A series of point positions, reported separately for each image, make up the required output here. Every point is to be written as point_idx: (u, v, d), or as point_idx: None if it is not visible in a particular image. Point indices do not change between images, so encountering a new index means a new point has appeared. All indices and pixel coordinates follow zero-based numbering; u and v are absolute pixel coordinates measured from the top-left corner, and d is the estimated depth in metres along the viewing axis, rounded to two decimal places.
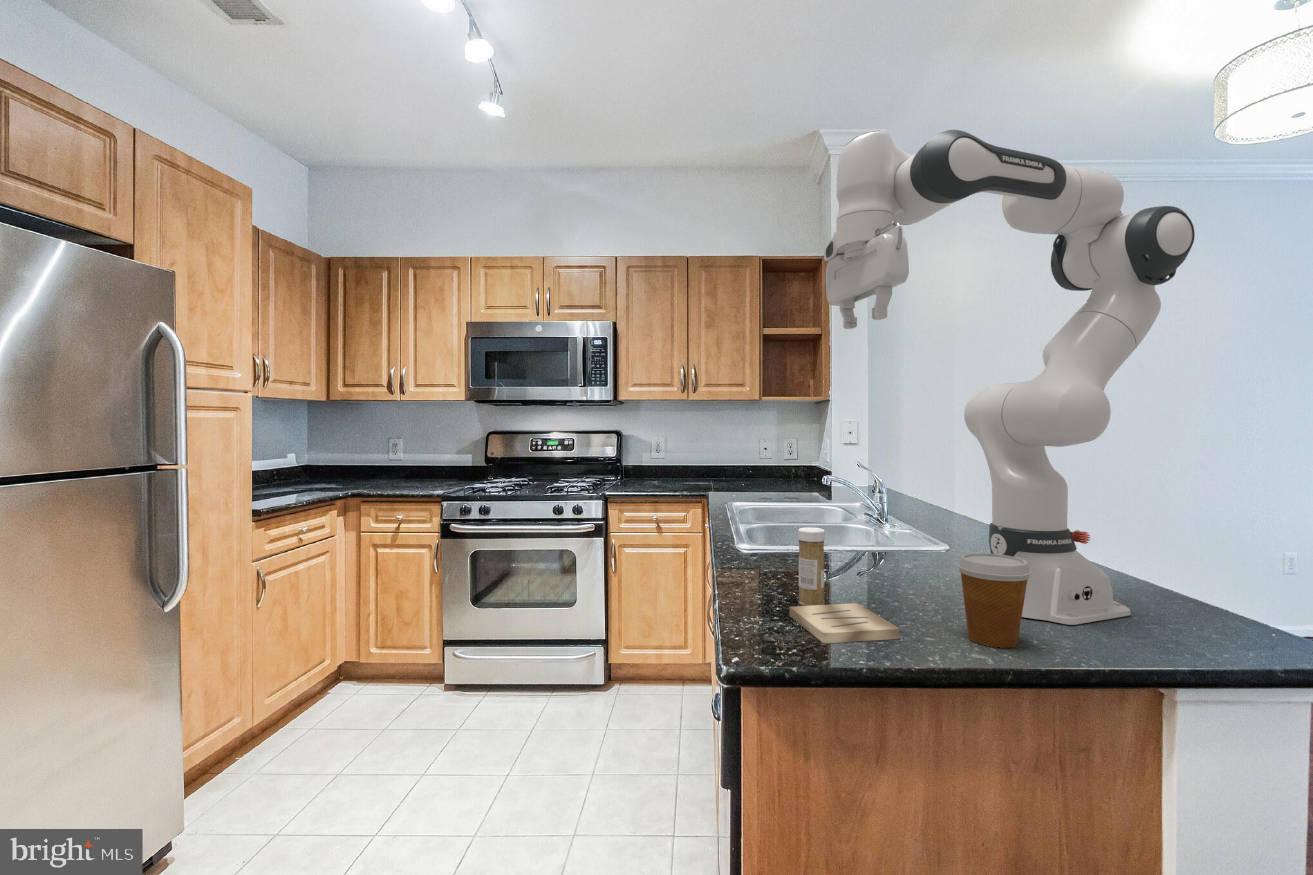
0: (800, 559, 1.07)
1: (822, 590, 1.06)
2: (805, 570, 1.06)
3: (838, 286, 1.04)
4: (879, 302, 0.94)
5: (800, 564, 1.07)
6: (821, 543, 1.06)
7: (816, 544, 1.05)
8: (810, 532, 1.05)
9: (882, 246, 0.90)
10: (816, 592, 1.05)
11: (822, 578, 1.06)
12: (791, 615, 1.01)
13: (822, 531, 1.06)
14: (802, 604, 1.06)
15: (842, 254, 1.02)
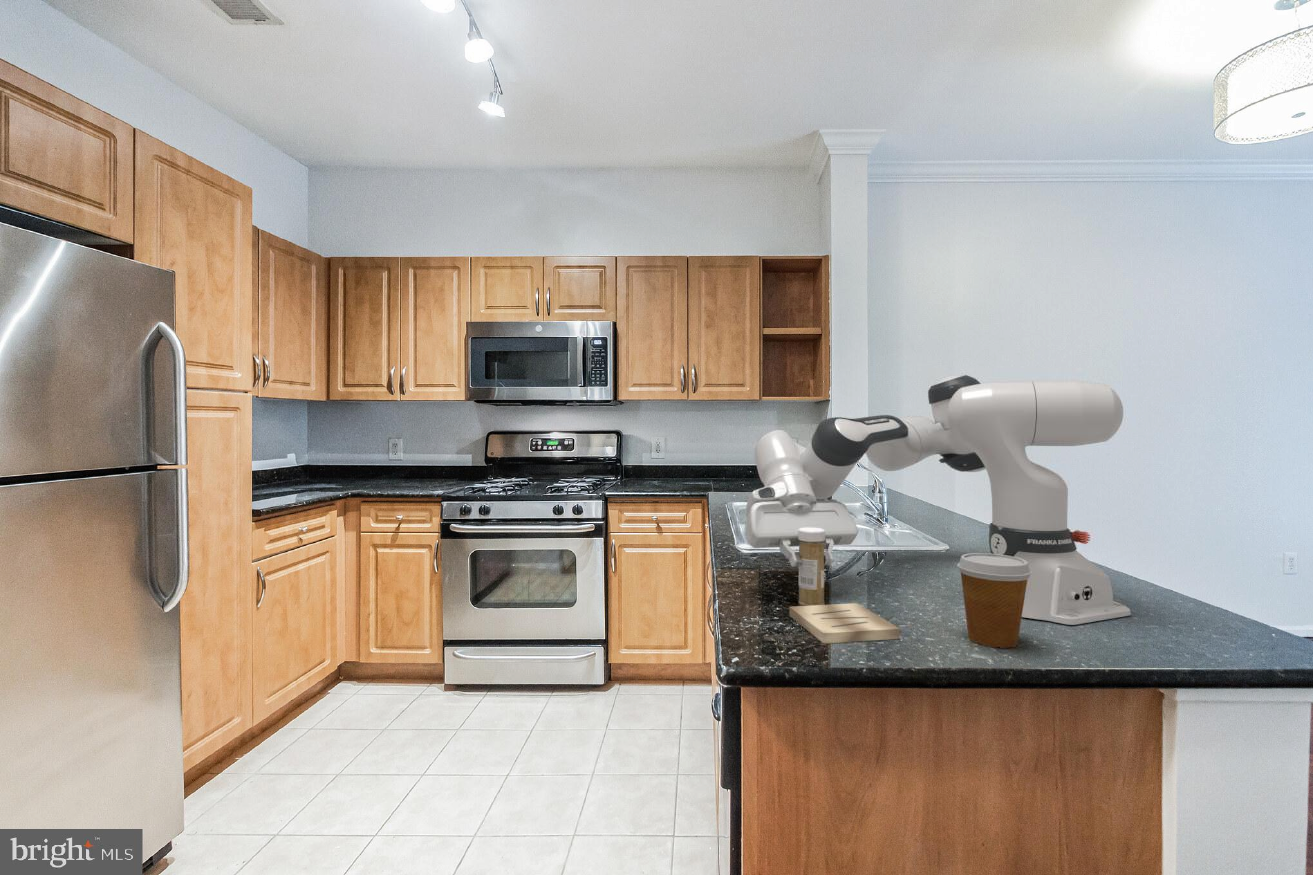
0: None
1: (822, 590, 1.06)
2: (805, 570, 1.06)
3: (776, 525, 1.09)
4: (831, 550, 1.09)
5: None
6: (821, 543, 1.06)
7: (816, 544, 1.05)
8: (810, 532, 1.05)
9: (843, 510, 1.14)
10: (816, 592, 1.05)
11: (822, 578, 1.06)
12: (791, 615, 1.01)
13: (822, 531, 1.06)
14: (802, 604, 1.06)
15: None
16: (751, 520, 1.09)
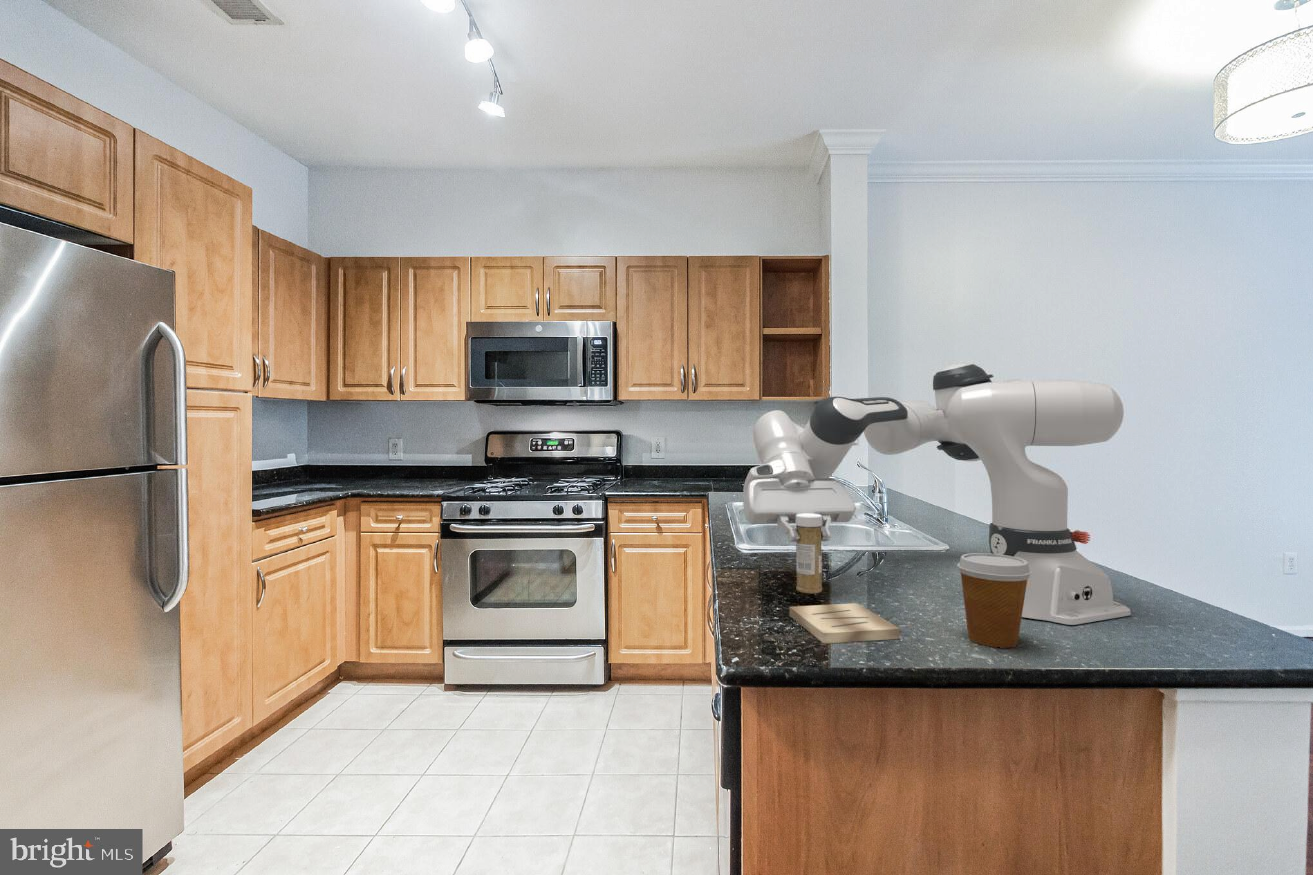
0: (798, 544, 1.07)
1: (820, 575, 1.06)
2: (803, 555, 1.06)
3: (774, 502, 1.10)
4: (828, 526, 1.09)
5: (798, 549, 1.07)
6: (819, 528, 1.06)
7: (813, 529, 1.06)
8: (808, 517, 1.06)
9: (841, 488, 1.14)
10: (814, 577, 1.06)
11: (820, 563, 1.06)
12: (791, 615, 1.01)
13: (819, 516, 1.06)
14: (800, 589, 1.07)
15: None
16: (749, 496, 1.10)
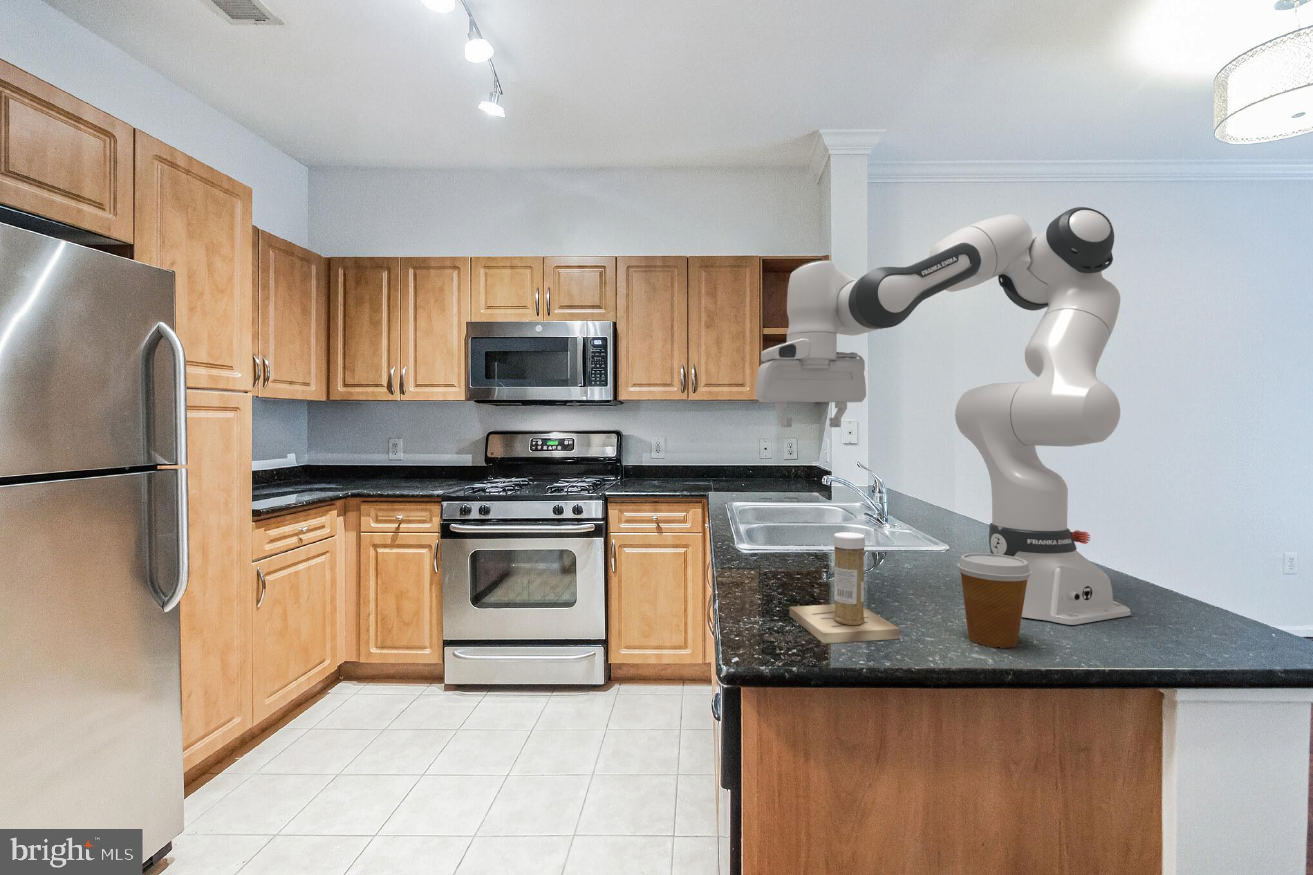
0: (837, 569, 0.93)
1: (862, 604, 0.93)
2: (843, 581, 0.92)
3: (787, 387, 1.09)
4: None
5: (837, 574, 0.93)
6: (861, 550, 0.92)
7: (855, 551, 0.92)
8: (849, 538, 0.92)
9: (860, 372, 1.12)
10: (855, 607, 0.92)
11: (862, 591, 0.92)
12: (791, 615, 1.01)
13: (862, 537, 0.92)
14: (839, 620, 0.93)
15: (798, 360, 1.09)
16: (763, 381, 1.08)
